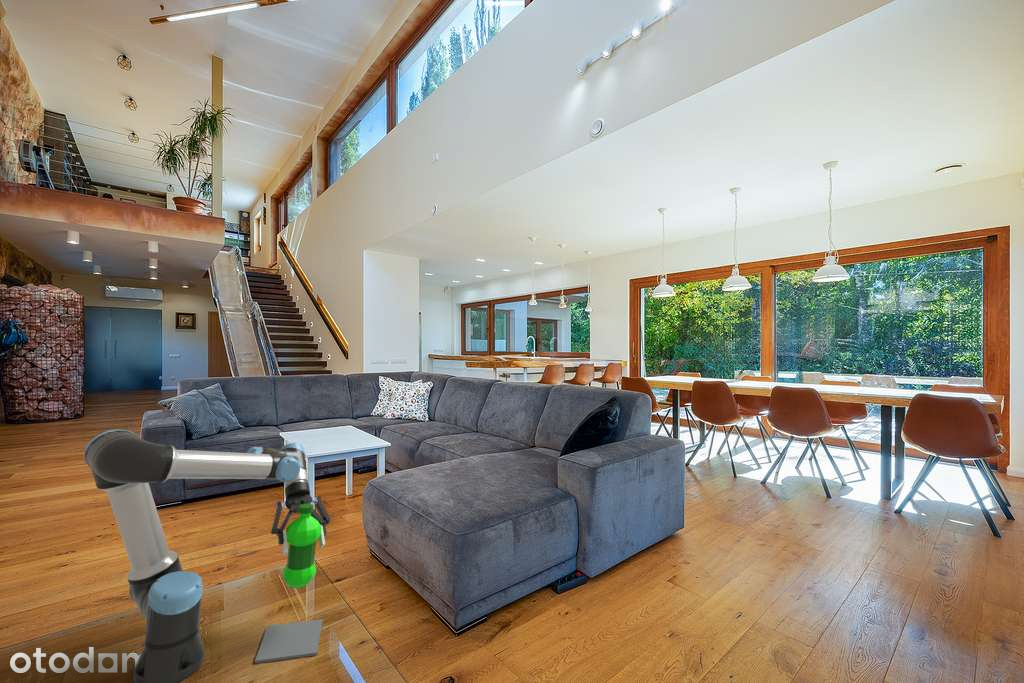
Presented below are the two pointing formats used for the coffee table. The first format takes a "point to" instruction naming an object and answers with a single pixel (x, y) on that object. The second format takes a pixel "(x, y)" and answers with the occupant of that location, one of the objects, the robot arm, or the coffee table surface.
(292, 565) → the plastic bottle
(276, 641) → the rubber coaster
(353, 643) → the coffee table surface
